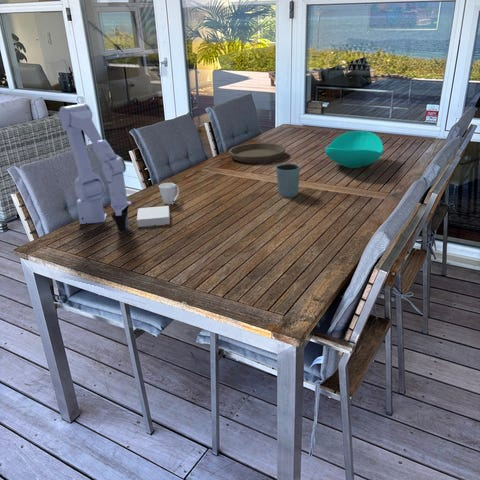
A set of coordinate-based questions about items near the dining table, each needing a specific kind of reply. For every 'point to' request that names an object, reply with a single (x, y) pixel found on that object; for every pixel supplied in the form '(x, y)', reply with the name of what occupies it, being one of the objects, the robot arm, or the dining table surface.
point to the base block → (153, 216)
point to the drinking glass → (288, 179)
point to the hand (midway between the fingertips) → (123, 226)
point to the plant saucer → (257, 152)
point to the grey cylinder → (126, 226)
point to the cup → (168, 192)
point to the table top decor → (355, 149)
